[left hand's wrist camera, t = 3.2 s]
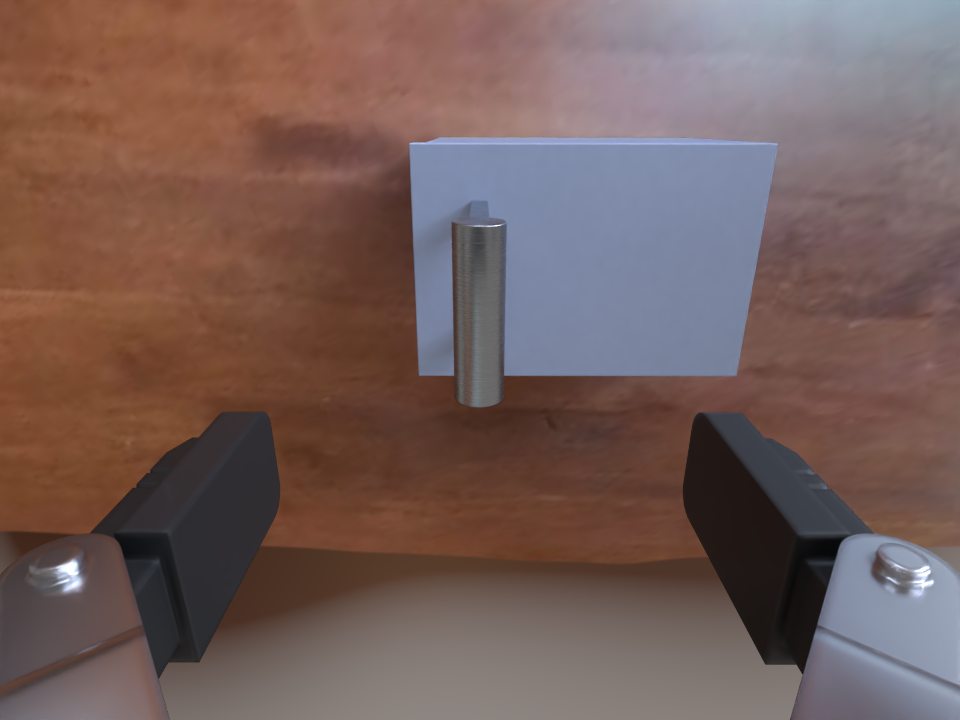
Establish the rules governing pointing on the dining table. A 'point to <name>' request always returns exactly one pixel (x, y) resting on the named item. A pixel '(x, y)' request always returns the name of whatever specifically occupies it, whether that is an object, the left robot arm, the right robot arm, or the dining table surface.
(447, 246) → the grey box lid
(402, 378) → the dining table surface
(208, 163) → the dining table surface
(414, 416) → the dining table surface
